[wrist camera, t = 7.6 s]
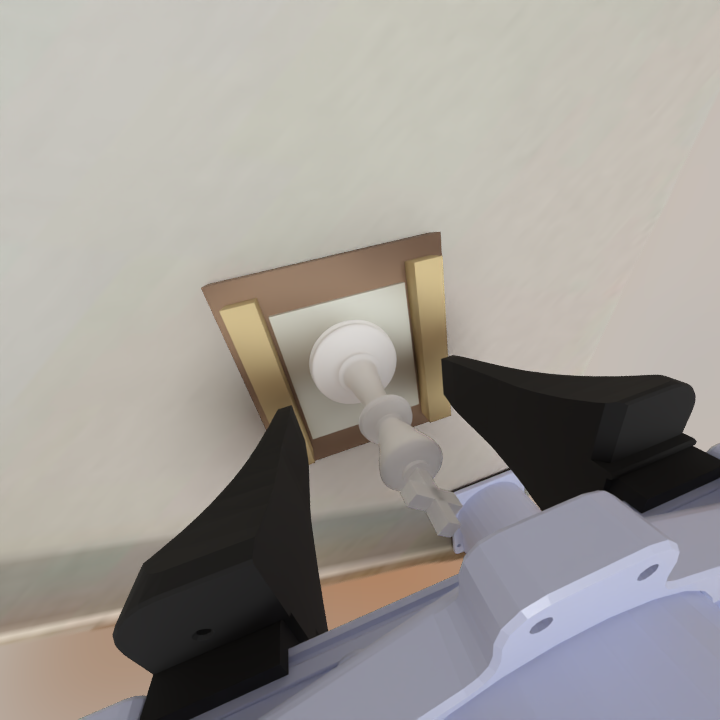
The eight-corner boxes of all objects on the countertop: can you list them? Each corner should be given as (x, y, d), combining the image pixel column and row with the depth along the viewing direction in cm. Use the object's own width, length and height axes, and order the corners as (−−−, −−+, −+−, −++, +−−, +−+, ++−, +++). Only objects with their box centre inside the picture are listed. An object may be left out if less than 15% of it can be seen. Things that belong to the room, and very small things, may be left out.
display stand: (441, 404, 20) (460, 424, 18) (285, 457, 18) (285, 485, 16) (429, 232, 15) (453, 230, 13) (207, 284, 13) (192, 292, 11)
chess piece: (365, 409, 17) (457, 599, 8) (293, 381, 15) (305, 593, 6) (409, 343, 16) (574, 475, 7) (337, 302, 14) (436, 414, 5)
